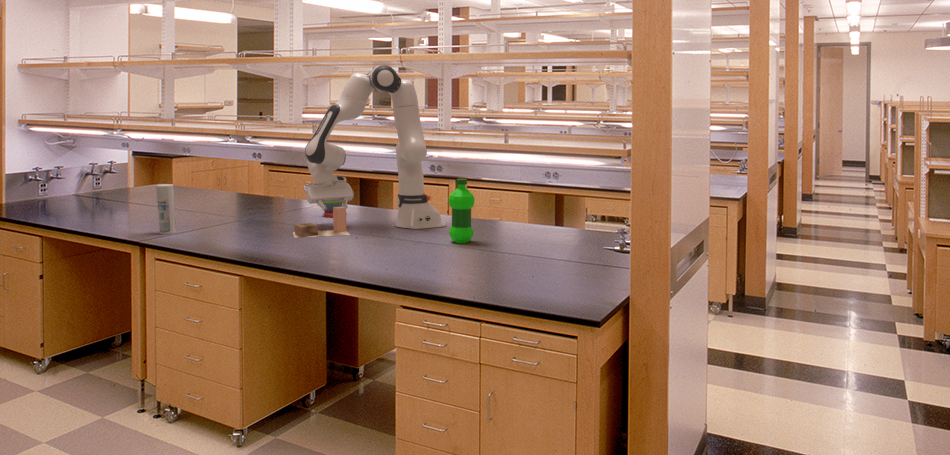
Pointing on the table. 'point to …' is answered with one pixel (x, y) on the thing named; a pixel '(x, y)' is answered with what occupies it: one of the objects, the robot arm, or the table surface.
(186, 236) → the table surface
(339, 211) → the terracotta pillar
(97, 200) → the table surface
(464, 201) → the plastic bottle
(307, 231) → the walnut plinth
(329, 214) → the stacking bear
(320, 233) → the birch base board
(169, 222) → the spray can
